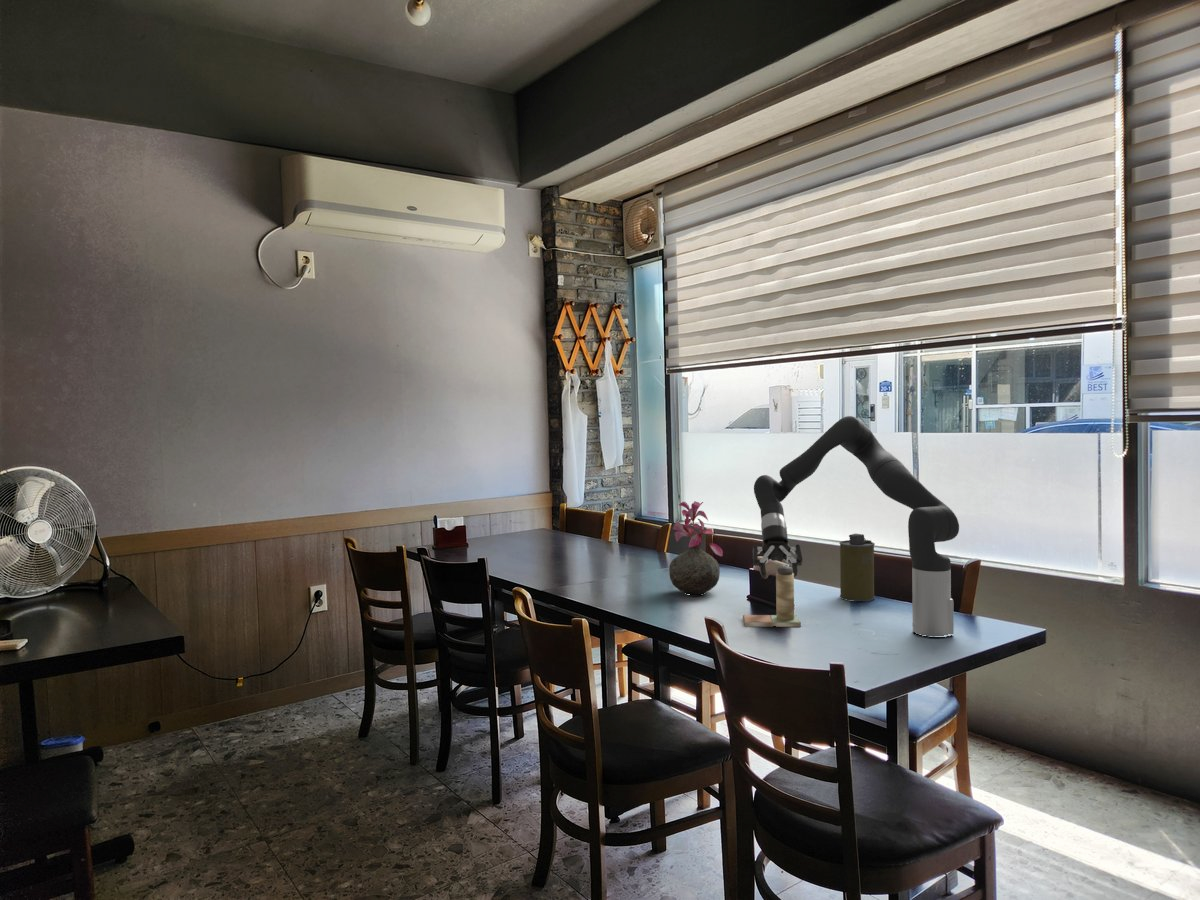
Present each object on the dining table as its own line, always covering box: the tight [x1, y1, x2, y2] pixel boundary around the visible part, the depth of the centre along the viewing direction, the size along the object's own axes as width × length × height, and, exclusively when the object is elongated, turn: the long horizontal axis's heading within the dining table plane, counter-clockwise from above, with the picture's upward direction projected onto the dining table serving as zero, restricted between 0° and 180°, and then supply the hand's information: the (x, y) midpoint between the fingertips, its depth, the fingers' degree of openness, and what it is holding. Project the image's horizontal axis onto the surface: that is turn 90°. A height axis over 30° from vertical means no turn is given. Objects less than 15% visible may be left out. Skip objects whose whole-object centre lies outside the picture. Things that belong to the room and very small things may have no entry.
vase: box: [668, 501, 724, 595], centre depth 256 cm, size 17×17×30 cm
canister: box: [839, 533, 875, 602], centre depth 246 cm, size 11×10×20 cm
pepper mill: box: [775, 565, 795, 621], centre depth 219 cm, size 5×5×14 cm
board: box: [742, 614, 802, 628], centre depth 220 cm, size 15×8×1 cm, turn 84°
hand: (779, 576), depth 230 cm, fingers open, 8 cm apart
